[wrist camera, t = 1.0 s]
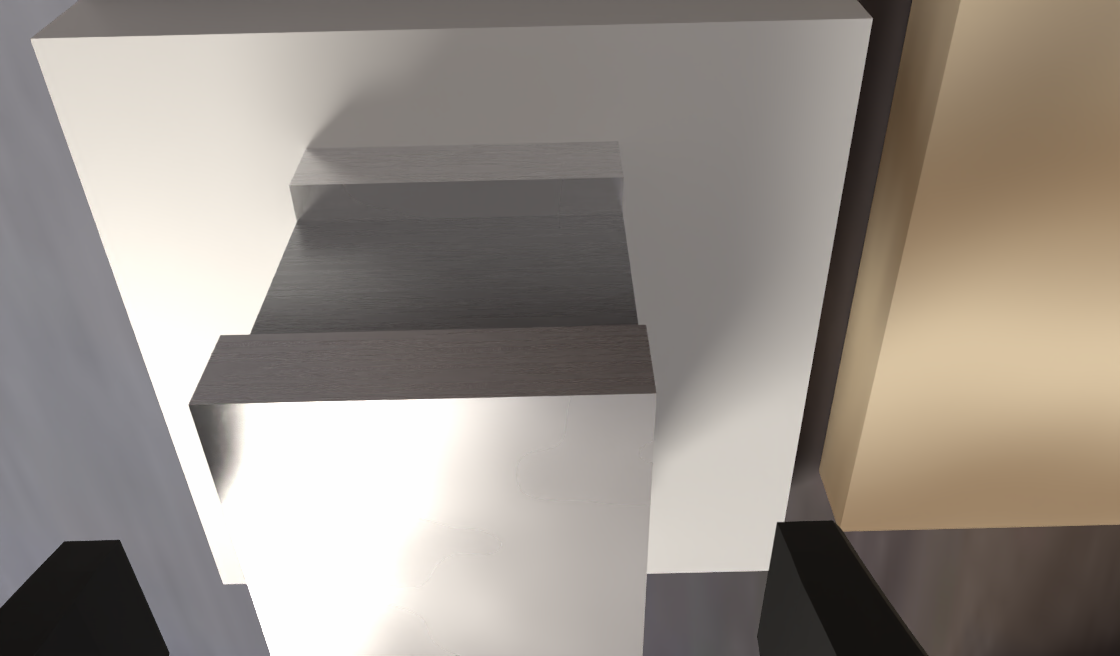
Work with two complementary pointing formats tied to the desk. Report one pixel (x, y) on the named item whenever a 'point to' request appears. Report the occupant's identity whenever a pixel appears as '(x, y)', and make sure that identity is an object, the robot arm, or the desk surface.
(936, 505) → the stand
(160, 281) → the stand
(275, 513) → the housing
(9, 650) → the robot arm
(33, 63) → the desk surface
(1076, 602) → the desk surface
